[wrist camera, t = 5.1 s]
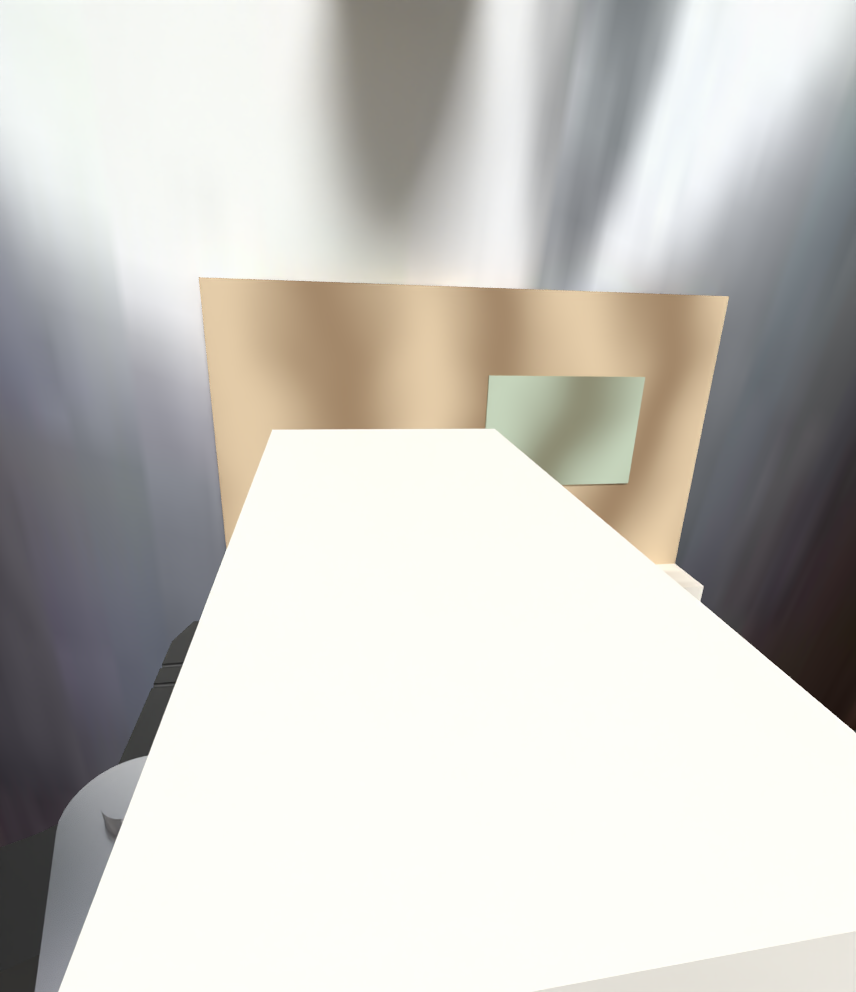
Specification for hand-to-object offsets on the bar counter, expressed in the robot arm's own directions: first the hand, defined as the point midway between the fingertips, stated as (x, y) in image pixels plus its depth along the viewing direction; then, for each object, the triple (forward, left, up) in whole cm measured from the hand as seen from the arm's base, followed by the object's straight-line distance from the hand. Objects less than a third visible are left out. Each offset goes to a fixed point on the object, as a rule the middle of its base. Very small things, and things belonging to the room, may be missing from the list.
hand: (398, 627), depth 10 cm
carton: (0, 0, -2) cm, 2 cm away
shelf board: (+5, -1, -16) cm, 17 cm away
